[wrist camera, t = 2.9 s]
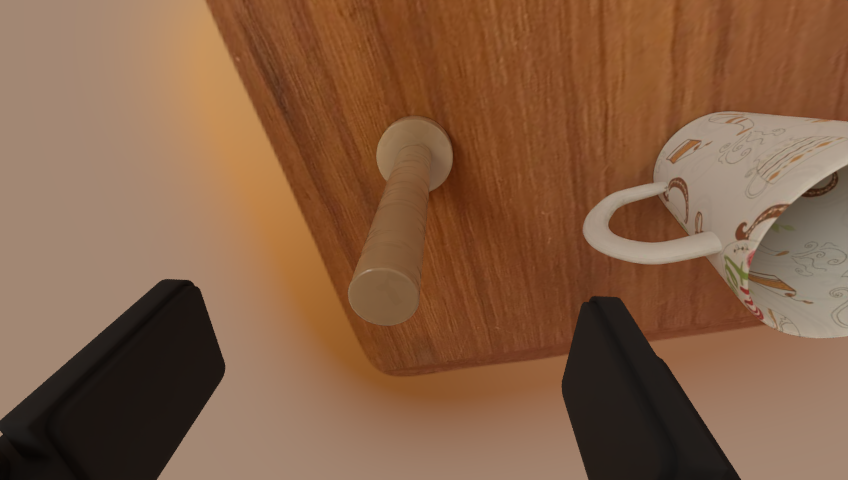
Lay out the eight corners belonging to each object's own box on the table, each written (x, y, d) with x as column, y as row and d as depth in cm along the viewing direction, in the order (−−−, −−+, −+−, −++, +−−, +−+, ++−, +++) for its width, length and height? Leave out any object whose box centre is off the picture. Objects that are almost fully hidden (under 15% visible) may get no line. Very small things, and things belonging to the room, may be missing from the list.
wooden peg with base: (380, 187, 24) (315, 354, 12) (376, 114, 22) (292, 226, 10) (451, 189, 24) (458, 359, 12) (454, 116, 22) (468, 231, 10)
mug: (781, 206, 23) (980, 312, 15) (571, 259, 26) (635, 377, 17) (795, 64, 20) (1072, 94, 11) (548, 142, 22) (615, 216, 14)
